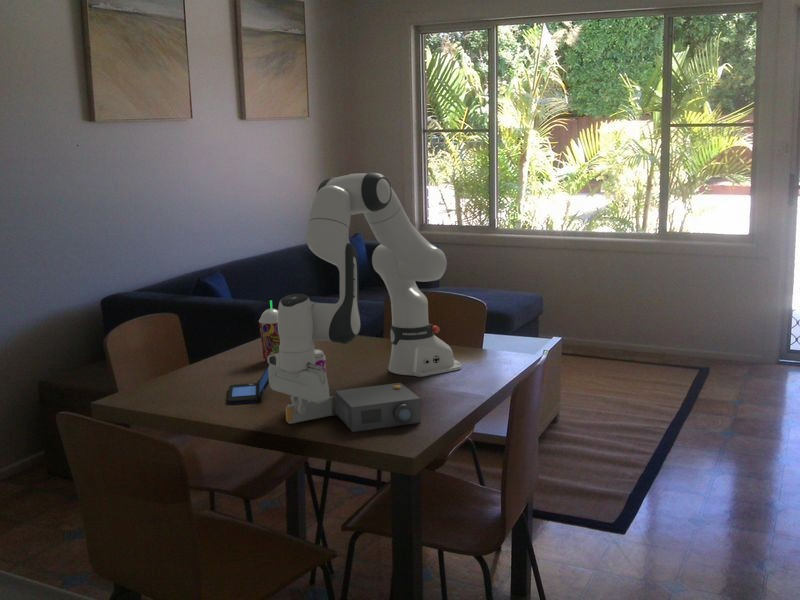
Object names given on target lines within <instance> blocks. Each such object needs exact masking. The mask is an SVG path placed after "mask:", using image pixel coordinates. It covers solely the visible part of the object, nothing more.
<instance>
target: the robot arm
mask: <svg viewBox="0 0 800 600" xmlns="http://www.w3.org/2000/svg"><path fill="white" fill-rule="evenodd" d="M314 196H315V197H314V199H313V202H312V204H311V205H312V206H311V208H310V212H309V215H308V216H309V217H308V221H307V226H306V231H305V241H306V244H307V247H308V248H309V250H310V251H311V252H312V253H313V254H314V255H315V256H317V257H318V258H319V259H321V260H322V261H323V260H324V261H325V262H328V263H330V264H332V265H334V266H336V267H337V270H338V271H339V299H338V301H337V302H336V303H327V302H325V303H324V302H315V301H311V300H310V297H309V296H308V295H307V294H303V293H293V294H289V295H286V296H284V297H282V298H281V299H280V300H279V301H278V302H279V303H278V308H277V310H278V334H279V337H280V345H279V353H276V354H273V355H269V356H268V357H267V361H268V363H267V364H270V365H269V368H268V375H269V384H268V385H269V387H270V389H271V390H272V391H276V392H279V393H281V394H282V393H283V394H284V395H288V396H290V401H291V404H293V405H294V411H295V412H296V413H299V414H304V413H305V412H306V405H307V402H308V401H311V402H314V403H318V404H319V403H323V402H326V401H328V399H329V397H331V395H330V387H329V381H328V376H327V373H326V374H325V371H324V370H323V369H322V367H321V366H319V365H315V349H316V348H315V344H314V341H322V342H332V343H337V344H343V345H346V344H349V343H350V342H351V341H353V340H354V339H355V338H356V337H358V335H359V334H360V331H361V313H360V305H359V303H360V301H359V300H360V299H359V295H360V294H359V293H360V291H359V288H360V287H359V285H360V284H359V282H360V281H359V258H358V252H357V249H356V248H355V246H354V245H353V244H351V241H350V238H349V237H350V236H349V235H350V234H349V232H350V226H351V225H350V224H351V216H354V215H358V214H363V216H364V217H365V220H366V222H367V224H368V225H369V227H370V230H371V231H372V233H373V235H374V237H375V239H376V240H377V241H378V243H379V245H378V246H376V248H375V249H374V250H373V253H372V256H371V264H372V267H373V270H374V272H376V273H377V274H378V275H379V276H380V278H381V279H382V280H383V282H384V285H385V287H386V289H387V291H388V295H389V297H390V298H389V299H390V308H391V325H390V342H391V352H390V359H389V364H388V368H387V370H388V372H389V373H392V374H396V375H403V376H415V377H428V376H433V375H438V374H443V373H448V372H453V371H458V370H459V371H460V370H461V369H462V364H461V362H460V361H459V360H456V359H455V358H454V352H453V350H452V348H451V346H450V345H449V344H447V343H446V342H445V341H444V340H442V339H440V338H439V337H437V336H436V335H435V334H439V332H440V331H441V330H440V327H439V326H437V325H433V324H432V323H429V301H428V298H427V296H426V295H425V294H424V293H423V292H422V291H421V289H419V287H418V285H417V283H416V282H422V283H424V282H434V281H438V280H440V279H441V278H442V277H443V276H444V274H445V272H446V271H447V270H446V269H447V265H448V263H447V257H446V255H445V253H444V251H443V250H442V249H440V248H439V247H437V246H435V245H434V244H432V243H431V242H430V241H428V240H427V239H426V238H425V237H424V236H423V235H422V234H421V232H420V231H418V229H416V228H415V226H414V225H413V223H412V222H411V221H410V218H409V217H408V215H407V213H406V211H405V209H404V206H403V205H402V203H401V201H400V199H399V198H398V195H397V193H396V192H395V191H394V189H393V188H392V185H391V183H390V182H389V180H388V179H387V177H386V176H385V175H383V174H382V173H378V172H368V173H366V172H364V173H362V172H361V173H360V172H359V173H349V174H346V175H341V176H338V177H337V176H336V177H334V176H333V177H330V178H326V179H325V180H322V181H321V183H320V184H319V185H318V187H317V190H316V194H315V195H314Z"/></svg>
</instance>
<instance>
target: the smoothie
mask: <svg viewBox="0 0 800 600" xmlns="http://www.w3.org/2000/svg"><path fill="white" fill-rule="evenodd" d="M269 306H270V308H267V309H265V310H264V311H263V312H262V314H260V315H261V316H260V318H259V320H258V323H259V325H258V326H259V332H260V340H261V341H260V342H261V348H262V349H261V351H262V356H263V357H262V358H263V359H264V360H265V363H267V364H268V361H267V357H268V356H269V355H273V354H276V353H279V345H280V337H279V334H278V309H277V308H273V300H269Z"/></svg>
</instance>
